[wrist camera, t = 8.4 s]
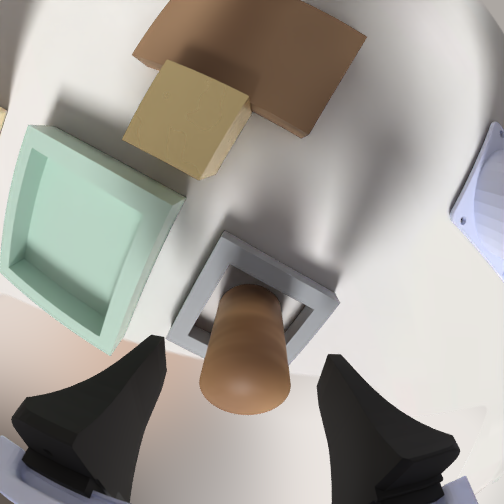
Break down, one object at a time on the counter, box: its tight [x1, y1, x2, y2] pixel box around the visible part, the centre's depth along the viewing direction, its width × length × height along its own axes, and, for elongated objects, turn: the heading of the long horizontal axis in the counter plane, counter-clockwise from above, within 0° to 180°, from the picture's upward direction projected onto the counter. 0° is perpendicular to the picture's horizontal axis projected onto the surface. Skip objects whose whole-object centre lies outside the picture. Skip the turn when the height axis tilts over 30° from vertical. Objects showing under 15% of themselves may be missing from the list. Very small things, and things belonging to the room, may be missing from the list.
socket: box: [166, 230, 340, 366], centre depth 15 cm, size 7×7×1 cm
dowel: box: [199, 284, 291, 415], centre depth 13 cm, size 4×4×6 cm
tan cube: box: [122, 60, 252, 180], centre depth 11 cm, size 4×4×4 cm
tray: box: [0, 125, 186, 356], centre depth 13 cm, size 10×10×2 cm
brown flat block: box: [132, 0, 367, 138], centre depth 11 cm, size 9×6×2 cm, turn 61°
